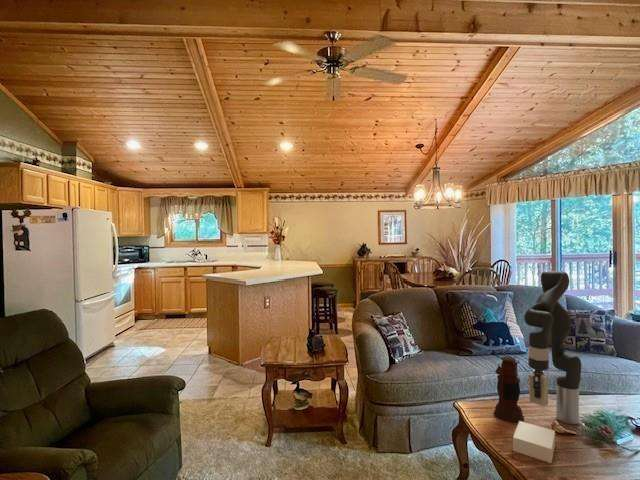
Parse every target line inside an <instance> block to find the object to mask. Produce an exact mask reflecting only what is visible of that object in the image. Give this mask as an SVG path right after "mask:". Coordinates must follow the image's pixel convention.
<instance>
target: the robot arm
mask: <svg viewBox="0 0 640 480" xmlns="http://www.w3.org/2000/svg"><path fill="white" fill-rule="evenodd" d="M540 284H541V288H542V292H543V293H541V294H540V295H539V296H538V298H537V300H536V302H535V304H533V305H532V306H531V307H529V308H528V309H527V311H526V312H525V313H524V316H523V320H524V322H525V324H526V325H527V326H529V327H534V328H539V329H540V328H541V330H539V331H538V330H537V331H535V330H534V331H531V332H529V337H528V351H527V352H528V367H529V368H531V369H533V371H532V372H533V389H534V397H535V398H539V399H540V398H541V385H542V380H541V382H540V379H541V378H543V376H544V375H545V372H544V371H548V370H549V369H550V367H549V366H550V362H549V361H550V359H549V358H550V354H549V353H550V352H549V337H550V342H551V345H550V346H551V362H552V365H553V367H554V368H556V369H557V370H559V371H563V372H564V373H565V375H564V376H563V375H562V376H557V378H556V381H555V383H556V385H555V386H556V395H555V396H556V416H555V417H556V419H557V420H558V421H560V422H561V423H565V424H569V425H578V424H579V423H580V383H581V378H582V361H581V358H580V357H579V356H577V355H574V354H572V353H569V352H566V349H565V341H566V339H567V337H569V335H570V333H571V332H572V331H571V330H572V322H571V317H570V314H569V312H568V311H567V310H566V308H565V307H564V306H563V305H562V304H561V303H560V302H559V299H561V297H562V296H563V295H564V294H565V293H566V291H567V290H568V288H569V287H570V277H569V274H568V273H567V272H566V271H561V270H559V271H557V270H551V271H549V270H547V271H542V272H541V275H540ZM536 385H538V386H539V387H537V386H536Z"/></svg>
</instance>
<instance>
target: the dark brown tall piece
mask: <svg viewBox="0 0 640 480" xmlns="http://www.w3.org/2000/svg"><path fill="white" fill-rule="evenodd" d="M500 359H501V363H498V364H497V368H496V370H495V373H496V374H497V375H496V376H497V377H496V378H497V384H496V389H497V394H498V402H497V403H496V405H495V407H494V410H493V415H494V417H495V418H497V420H500V421H503V422H504V423H509V424H518V423H519V421H522V422H524V421H525V416H524V415H523V410H522V407H521V406H520V405H519V404H518V402H519V399H520V394H521V386H520V383H521V380H520V378H519V377H518V375H519V372H518V364H519V363H520V358H518V357H517V356H514V357H511V356H502V357H501V358H500ZM517 359H518V361H517Z"/></svg>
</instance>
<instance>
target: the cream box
mask: <svg viewBox="0 0 640 480" xmlns="http://www.w3.org/2000/svg"><path fill="white" fill-rule="evenodd" d="M512 436H513V437H512V451H513V452H515V453H519V454H521V455H525V456H527V457H531V458H534V459H537V460H540V461H543V462H546V461H547V462H546V463H549V464H552V463H553V462H552V461H553V456H554V453H553V452H555V447H556V430H553V429H549V428H546V427H542V426H539V425H536V424H532V423H529V422H524V421H523V422H522V421H519V423H517V426H516V429H515V431H514V434H513V435H512Z"/></svg>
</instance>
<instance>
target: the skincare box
mask: <svg viewBox="0 0 640 480" xmlns="http://www.w3.org/2000/svg"><path fill="white" fill-rule="evenodd" d="M548 377H549V376H548V375H546V374H544V376H543V378H541V379H540V382H541V380H542V385H541V398H540V399H539V398H535V397H534V389H533V371H532V372H531V373H529V374H528V393H529V394H528V395H529V397H528V398H529V399H528V401H529V403H532V404H535V405H538V406H541V407H546V406H547V405H548V404H549V384H548V383H549V382H548V381H549V380H548ZM536 386H537V387H539V386H538V385H536Z"/></svg>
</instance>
